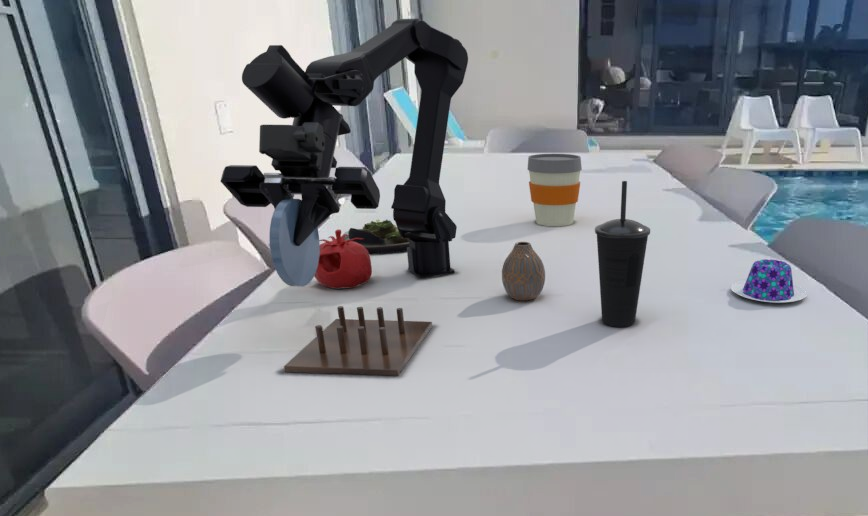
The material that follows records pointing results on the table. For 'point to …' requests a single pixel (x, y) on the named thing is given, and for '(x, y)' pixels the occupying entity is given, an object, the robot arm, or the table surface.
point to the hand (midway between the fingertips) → (290, 244)
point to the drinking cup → (620, 266)
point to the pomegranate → (343, 263)
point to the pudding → (769, 283)
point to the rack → (361, 345)
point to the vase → (523, 273)
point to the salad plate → (379, 237)
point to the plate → (292, 246)
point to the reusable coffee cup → (554, 187)
